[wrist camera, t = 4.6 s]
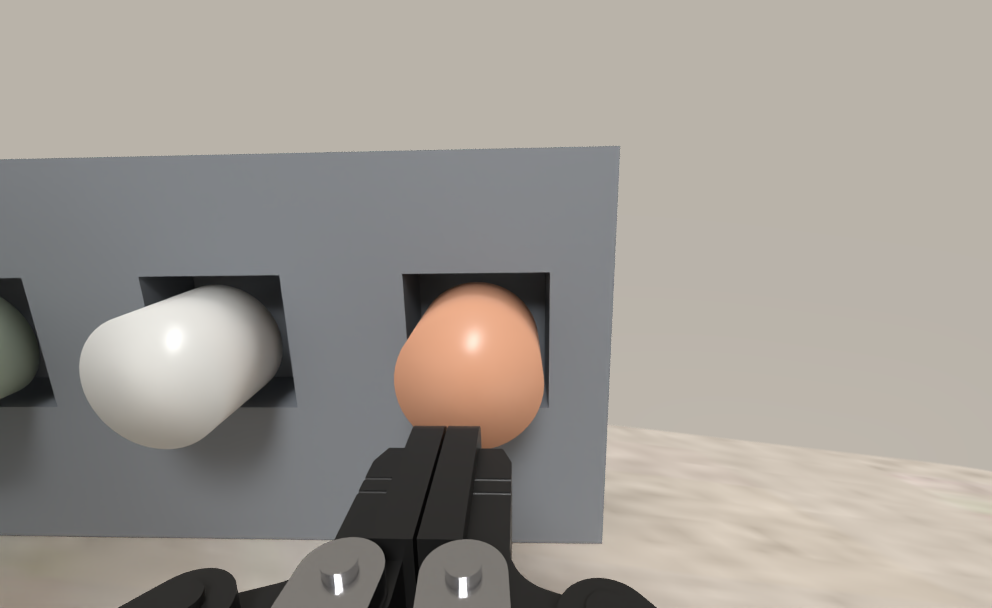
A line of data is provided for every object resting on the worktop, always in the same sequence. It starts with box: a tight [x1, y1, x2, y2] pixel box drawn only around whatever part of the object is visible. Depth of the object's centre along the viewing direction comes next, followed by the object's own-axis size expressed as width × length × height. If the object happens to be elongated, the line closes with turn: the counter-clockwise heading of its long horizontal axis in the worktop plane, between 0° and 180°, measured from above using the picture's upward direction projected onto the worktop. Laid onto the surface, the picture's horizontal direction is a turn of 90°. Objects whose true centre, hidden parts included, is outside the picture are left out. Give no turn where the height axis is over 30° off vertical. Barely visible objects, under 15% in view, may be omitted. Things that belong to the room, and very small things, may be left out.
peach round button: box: [394, 282, 544, 448], centre depth 17 cm, size 5×4×5 cm
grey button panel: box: [0, 146, 620, 543], centre depth 22 cm, size 30×6×16 cm, turn 88°
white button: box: [79, 285, 283, 449], centre depth 17 cm, size 5×4×5 cm
